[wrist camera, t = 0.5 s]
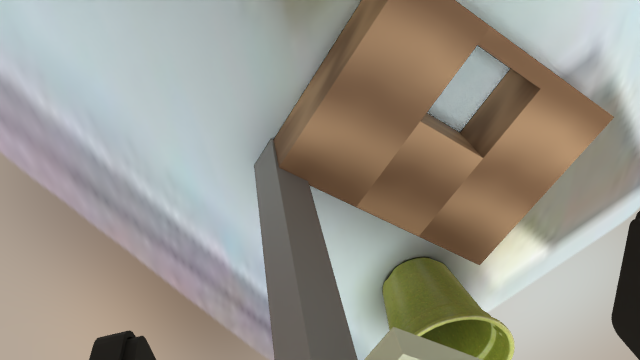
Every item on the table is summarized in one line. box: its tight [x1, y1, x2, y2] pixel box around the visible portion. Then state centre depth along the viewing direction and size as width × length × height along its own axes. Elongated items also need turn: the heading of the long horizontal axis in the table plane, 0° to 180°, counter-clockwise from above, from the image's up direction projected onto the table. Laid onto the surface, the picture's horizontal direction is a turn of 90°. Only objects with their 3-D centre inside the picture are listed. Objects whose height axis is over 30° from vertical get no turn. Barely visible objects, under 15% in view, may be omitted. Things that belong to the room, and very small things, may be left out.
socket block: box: [274, 0, 614, 265], centre depth 35 cm, size 14×18×4 cm
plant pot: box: [383, 258, 515, 360], centre depth 41 cm, size 9×9×9 cm
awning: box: [254, 139, 482, 360], centre depth 30 cm, size 6×17×21 cm, turn 57°
